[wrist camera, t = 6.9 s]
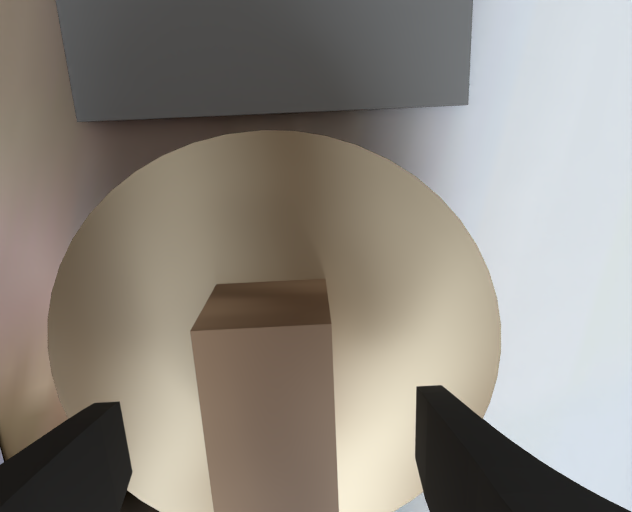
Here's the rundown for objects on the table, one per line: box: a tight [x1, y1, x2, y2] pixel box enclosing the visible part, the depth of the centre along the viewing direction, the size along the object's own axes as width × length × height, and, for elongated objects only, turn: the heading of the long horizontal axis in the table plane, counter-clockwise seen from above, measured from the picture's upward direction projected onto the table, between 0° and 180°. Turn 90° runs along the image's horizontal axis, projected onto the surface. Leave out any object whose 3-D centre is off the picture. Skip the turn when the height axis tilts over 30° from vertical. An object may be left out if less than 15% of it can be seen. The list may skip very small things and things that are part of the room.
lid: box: [48, 130, 501, 512], centre depth 12 cm, size 13×13×4 cm
